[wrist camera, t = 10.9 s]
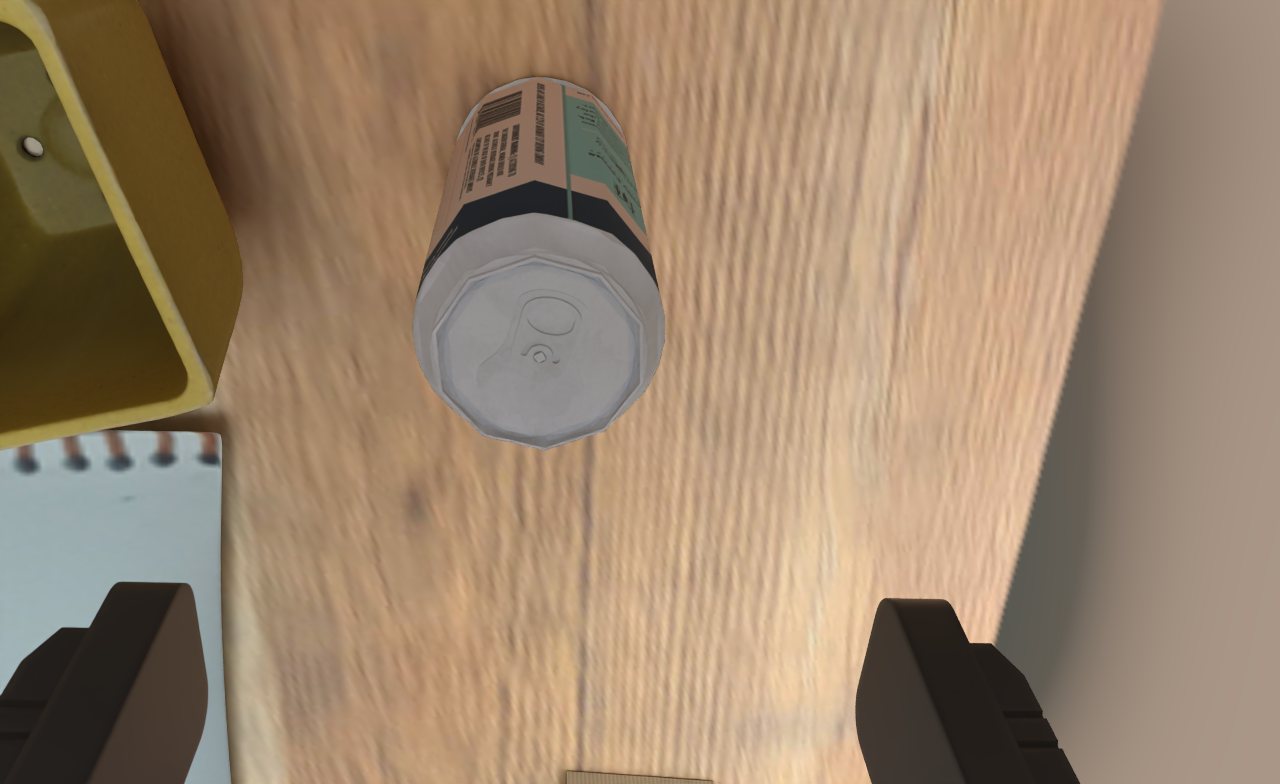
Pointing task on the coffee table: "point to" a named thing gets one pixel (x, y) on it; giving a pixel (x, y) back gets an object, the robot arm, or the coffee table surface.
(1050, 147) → the coffee table surface
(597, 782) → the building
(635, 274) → the beer can
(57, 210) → the flower pot
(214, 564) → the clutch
